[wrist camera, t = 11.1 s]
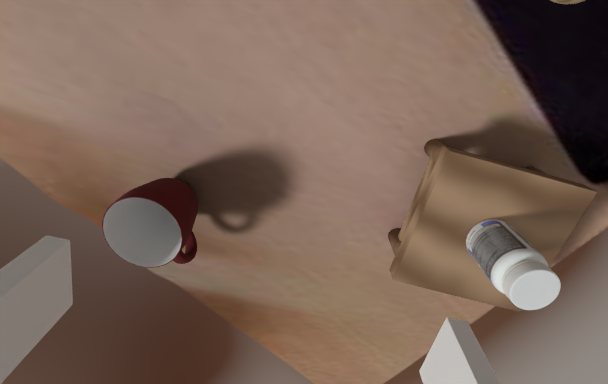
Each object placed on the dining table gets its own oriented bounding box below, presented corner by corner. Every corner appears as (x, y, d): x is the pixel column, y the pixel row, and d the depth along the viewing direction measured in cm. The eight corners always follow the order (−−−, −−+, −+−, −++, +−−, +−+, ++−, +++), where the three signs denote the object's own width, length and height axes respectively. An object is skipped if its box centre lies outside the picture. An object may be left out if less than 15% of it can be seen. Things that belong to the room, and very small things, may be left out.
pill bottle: (458, 254, 37) (495, 309, 29) (474, 214, 35) (519, 261, 28) (502, 262, 37) (550, 318, 30) (520, 222, 36) (577, 272, 28)
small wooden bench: (426, 131, 40) (450, 151, 33) (547, 166, 41) (597, 192, 34) (381, 242, 46) (393, 279, 39) (488, 270, 47) (520, 312, 40)
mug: (234, 221, 46) (213, 266, 36) (184, 247, 47) (152, 296, 38) (184, 152, 42) (147, 182, 33) (133, 183, 44) (84, 219, 35)
